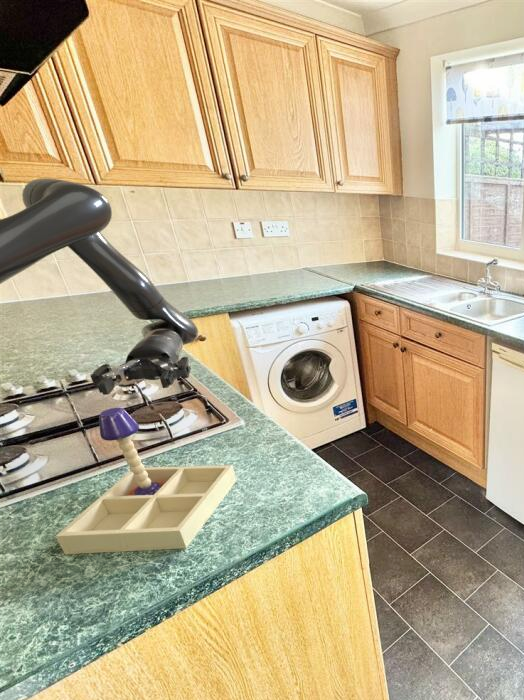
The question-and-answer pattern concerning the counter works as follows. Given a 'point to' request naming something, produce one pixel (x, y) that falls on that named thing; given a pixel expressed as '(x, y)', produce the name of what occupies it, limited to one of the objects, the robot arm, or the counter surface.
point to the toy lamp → (126, 445)
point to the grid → (150, 511)
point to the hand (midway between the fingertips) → (134, 386)
